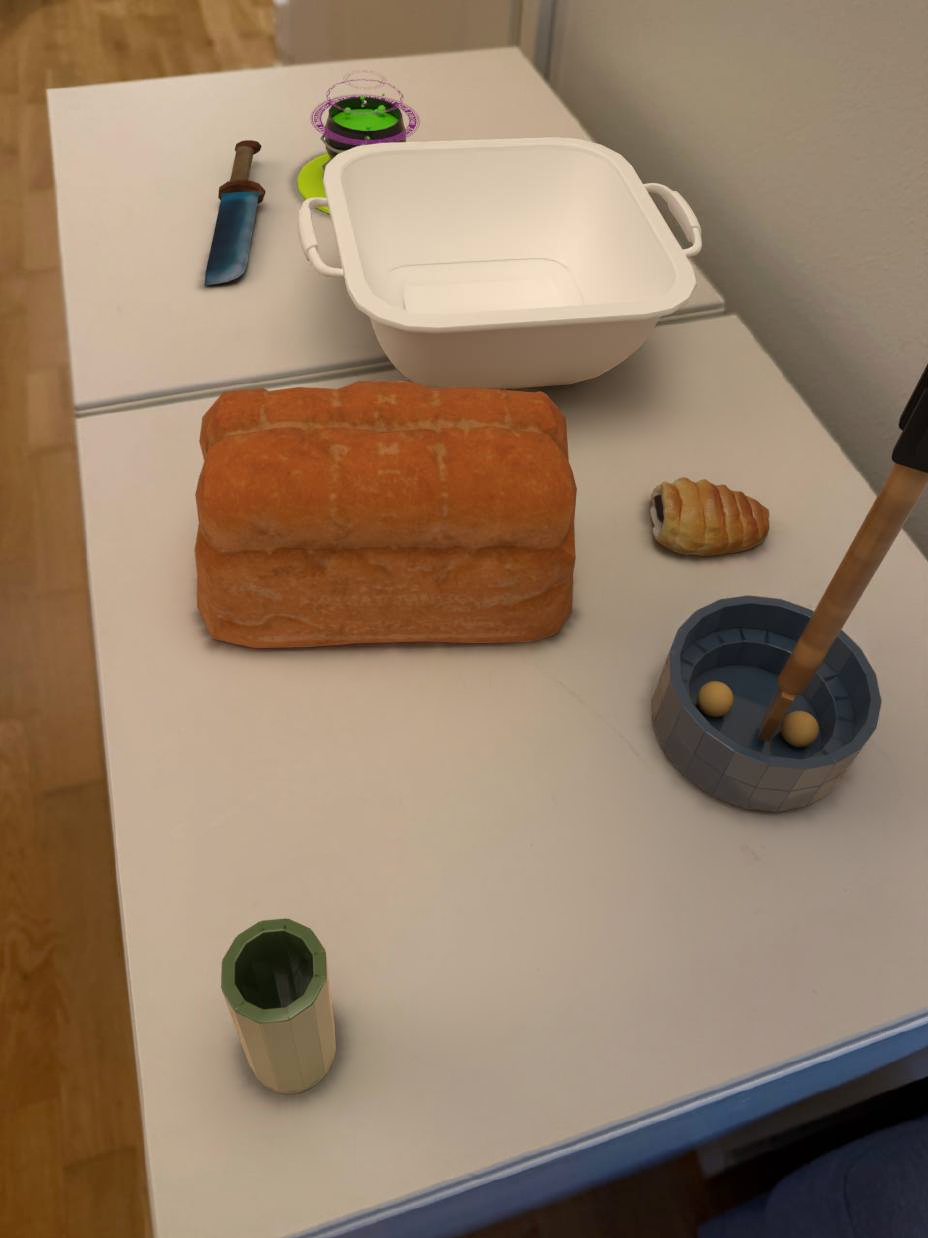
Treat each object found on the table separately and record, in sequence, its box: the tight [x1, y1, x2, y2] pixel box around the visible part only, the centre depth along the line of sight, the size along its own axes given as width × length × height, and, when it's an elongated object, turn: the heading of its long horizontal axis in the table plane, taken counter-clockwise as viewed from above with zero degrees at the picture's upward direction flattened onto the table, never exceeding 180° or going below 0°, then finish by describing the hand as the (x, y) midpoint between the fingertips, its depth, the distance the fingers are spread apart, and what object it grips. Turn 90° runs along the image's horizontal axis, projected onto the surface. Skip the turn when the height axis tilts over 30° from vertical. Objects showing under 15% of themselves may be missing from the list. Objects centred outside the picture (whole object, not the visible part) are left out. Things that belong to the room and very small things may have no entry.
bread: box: [194, 380, 578, 649], centre depth 69 cm, size 14×27×15 cm, turn 94°
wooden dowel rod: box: [758, 463, 928, 742], centre depth 55 cm, size 2×2×30 cm
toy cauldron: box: [296, 69, 421, 215], centre depth 106 cm, size 15×15×11 cm
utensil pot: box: [220, 918, 337, 1095], centre depth 49 cm, size 5×5×12 cm
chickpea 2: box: [781, 711, 819, 747], centre depth 67 cm, size 2×2×2 cm
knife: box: [204, 139, 267, 286], centre depth 103 cm, size 24×3×5 cm
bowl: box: [651, 595, 882, 812], centre depth 66 cm, size 13×13×6 cm
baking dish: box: [297, 136, 703, 390], centre depth 89 cm, size 34×28×13 cm
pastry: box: [649, 476, 770, 557], centre depth 79 cm, size 9×7×4 cm
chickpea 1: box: [697, 681, 734, 717], centre depth 68 cm, size 2×2×2 cm
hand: (927, 449), depth 48 cm, fingers closed on wooden dowel rod, 1 cm apart
